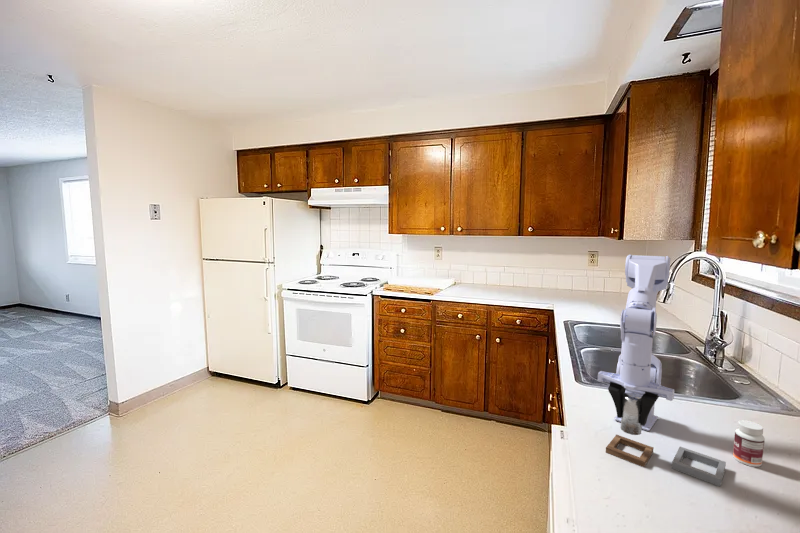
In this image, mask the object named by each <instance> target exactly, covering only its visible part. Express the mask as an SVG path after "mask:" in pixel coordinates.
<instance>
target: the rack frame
mask: <svg viewBox="0 0 800 533" xmlns="http://www.w3.org/2000/svg"><path fill="white" fill-rule="evenodd" d="M684 457H685V458H688V459H689V460H692V461H695V462H698V463H702V464H705V465H707V466H710V467H713V468H715V469H716V472H715V474H713V473H711V472H707V471H705V470H702V469H700V468H696V467H694V466H691V465H688V464H686V463H683V462H682V461H683V459H684ZM726 463H727V462H726V461H724V460H721V459H718V458H716V457H712V456H709V455H708V454H707V455H706V454H703V453H700V452H697V451H695V450H691V449H689V448H686V447H682V446H679V447H678V449H677V451H676V454H675V455H674V458H673V459H672V462H671V469H672V470H675V471H677V472H679V473H683V474H686V475H688V476H691V477H693V478H695V479H699V480H702V481H704V482H707V483H710V484H712V485H715V486H717V487H721V485H722V482H723V479H724V475H725V471H726V465H727V464H726Z"/></svg>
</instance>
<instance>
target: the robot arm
mask: <svg viewBox="0 0 800 533" xmlns="http://www.w3.org/2000/svg"><path fill="white" fill-rule="evenodd" d="M670 268H671V257H669V255H666V256H664V255H663V256H662V255H661V256H660V255H640V254H637V255H636V254H634V255H633V254H631V253H630V254H628V255H627V256H626V258H625V265H624V274H625V283H626V286H627V287H629V288H631V289H630V290H629V291H628V294H627V299H626V304H625V309H624V308H623V309H622V310H621V314H620V322H619V324H620V325H619V326H620V327H619V328H620V341H621V350H620V351H621V353H620V354H619V356H618V360H617V361H618V362H617V365H616V373H614V372H607V371H603V370H600V371H598V373H597V382H601V383H602V382H605V383H609V386H608V389H607V390H608V392H609V394H610V396H611V399H612V401H613V404H614V407H615V411H616V416H615V417H614V421H617V422H620V423H621V416H622V400H623V393H635V394H638V395H641V396H642V397H641V401H642V414H641V420H640V425H642V430H644V431H647V432H650V431H651V429H652V428H653V427H654V425H655V424H656V422H657V420H658V419H659V417H658V416H657V415H656V414H655V403H656V402H657V400H658V399H659V398H664V399H665V400H667V401H670V402H672V401H673V400H674V398H675V389H674V388H670V387H667V386H664V385H662V372H663V369H662V364H663V363H662V361H661V360H660V358H658V357H657V356H656V355H654V353H653V344H654V343H653V338H654V337H655V335H656V331H657V322H658V318H657V317H658V314H657V298H658V297H657V296H658V293H659V292H660V291H664V290H667V286H668V285H669V279H670ZM652 333H653V335H652Z"/></svg>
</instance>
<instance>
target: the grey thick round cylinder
mask: <svg viewBox="0 0 800 533" xmlns="http://www.w3.org/2000/svg"><path fill="white" fill-rule="evenodd" d="M641 397H642V396H641V395H638V394H635V393H623V400H622V416H621V422H620V429H621V431H622V432H624V433H626V434H629V435H632V436H640V435H641V434H642V430H643V429H642V425H640V420H641V414H642V401H641Z"/></svg>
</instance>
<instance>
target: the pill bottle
mask: <svg viewBox="0 0 800 533" xmlns="http://www.w3.org/2000/svg"><path fill="white" fill-rule="evenodd" d="M763 434H764V426H762V425H761V424H759V423H757V422H754V421H752V420H751V421H750V420H746V419H740V420H738V421H737V428H736V429H735V431H734V440H733V449H732V456H733V458H734V459H735V461H737V462H739V463H740V464H743V465H746V466H750V467H755V468H758V467H761V466H762V464H763V455H764V450H765V449H764V447H765V436H764V435H763Z"/></svg>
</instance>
